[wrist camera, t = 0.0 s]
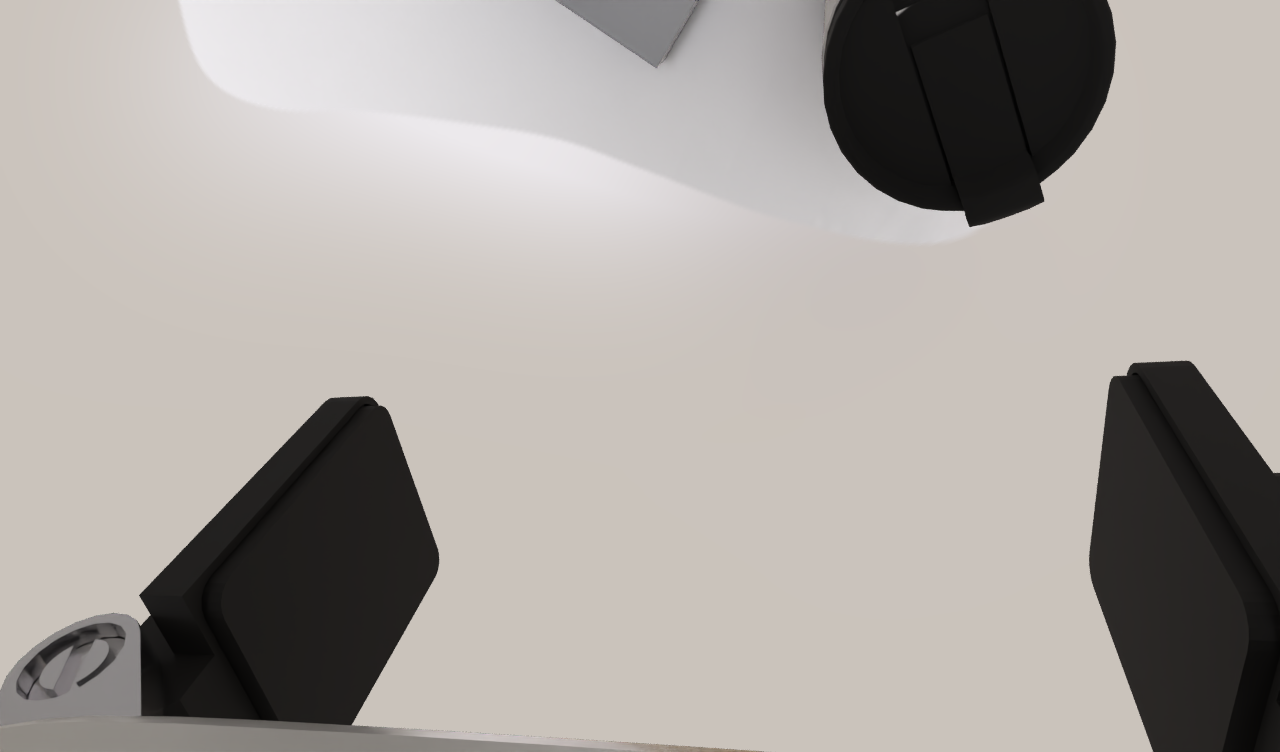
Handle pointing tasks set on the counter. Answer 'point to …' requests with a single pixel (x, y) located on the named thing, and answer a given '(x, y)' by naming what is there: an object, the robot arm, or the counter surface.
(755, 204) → the counter surface
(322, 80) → the counter surface
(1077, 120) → the travel mug
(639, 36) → the keypad board
